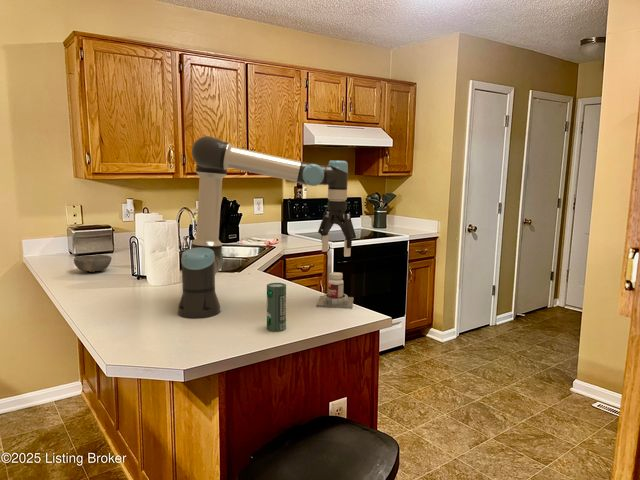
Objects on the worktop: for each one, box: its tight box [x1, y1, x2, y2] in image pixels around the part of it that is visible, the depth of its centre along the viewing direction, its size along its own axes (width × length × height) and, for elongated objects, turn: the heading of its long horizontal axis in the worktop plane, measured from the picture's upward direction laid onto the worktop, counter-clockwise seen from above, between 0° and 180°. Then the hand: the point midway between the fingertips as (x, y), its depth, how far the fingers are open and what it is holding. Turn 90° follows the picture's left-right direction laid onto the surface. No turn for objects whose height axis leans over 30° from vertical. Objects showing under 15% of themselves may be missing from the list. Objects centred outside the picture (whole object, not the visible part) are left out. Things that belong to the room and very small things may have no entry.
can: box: [266, 282, 287, 333], centre depth 156 cm, size 6×6×15 cm
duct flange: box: [315, 292, 354, 310], centre depth 189 cm, size 14×14×3 cm
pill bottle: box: [327, 271, 344, 298], centre depth 189 cm, size 6×6×11 cm
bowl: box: [73, 254, 112, 273], centre depth 243 cm, size 18×18×8 cm
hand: (335, 253), depth 187 cm, fingers open, 13 cm apart
